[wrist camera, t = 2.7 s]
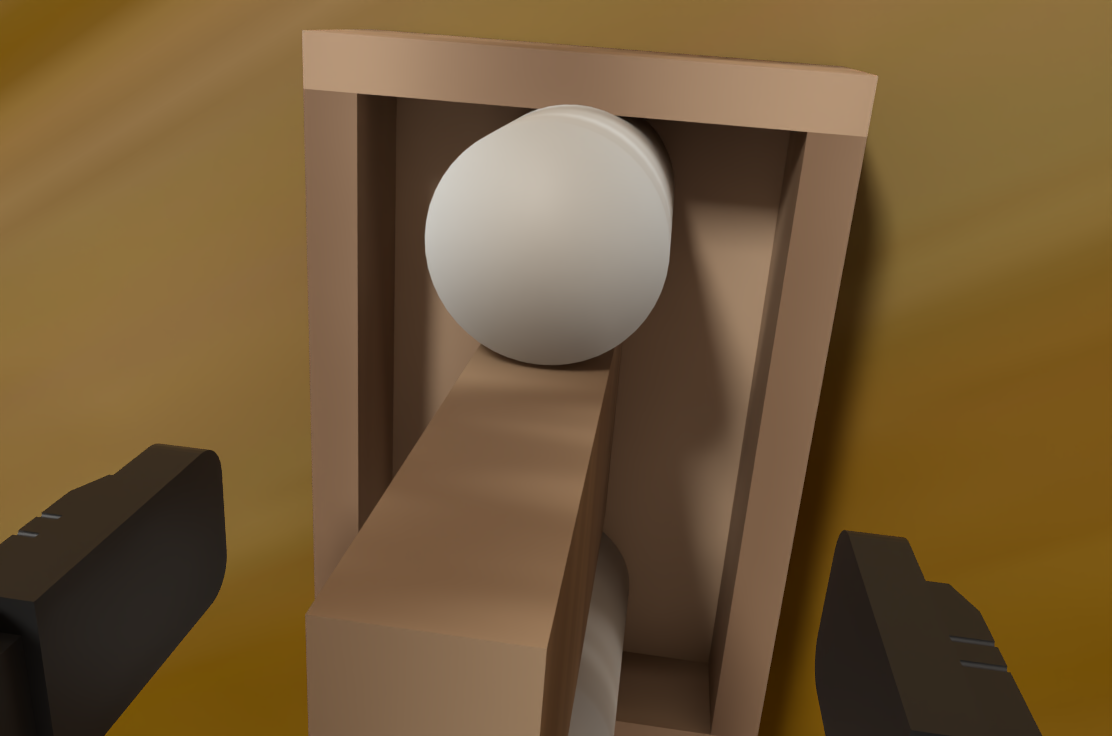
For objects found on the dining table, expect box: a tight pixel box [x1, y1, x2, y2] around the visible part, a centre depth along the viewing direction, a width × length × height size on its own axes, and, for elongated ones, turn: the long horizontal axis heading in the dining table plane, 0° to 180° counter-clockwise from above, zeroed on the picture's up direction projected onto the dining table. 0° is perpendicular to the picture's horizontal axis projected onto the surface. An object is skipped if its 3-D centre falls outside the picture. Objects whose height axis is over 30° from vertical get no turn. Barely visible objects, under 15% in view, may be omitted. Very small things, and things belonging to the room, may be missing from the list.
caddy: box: [302, 29, 878, 736], centre depth 13 cm, size 8×12×11 cm, turn 176°
